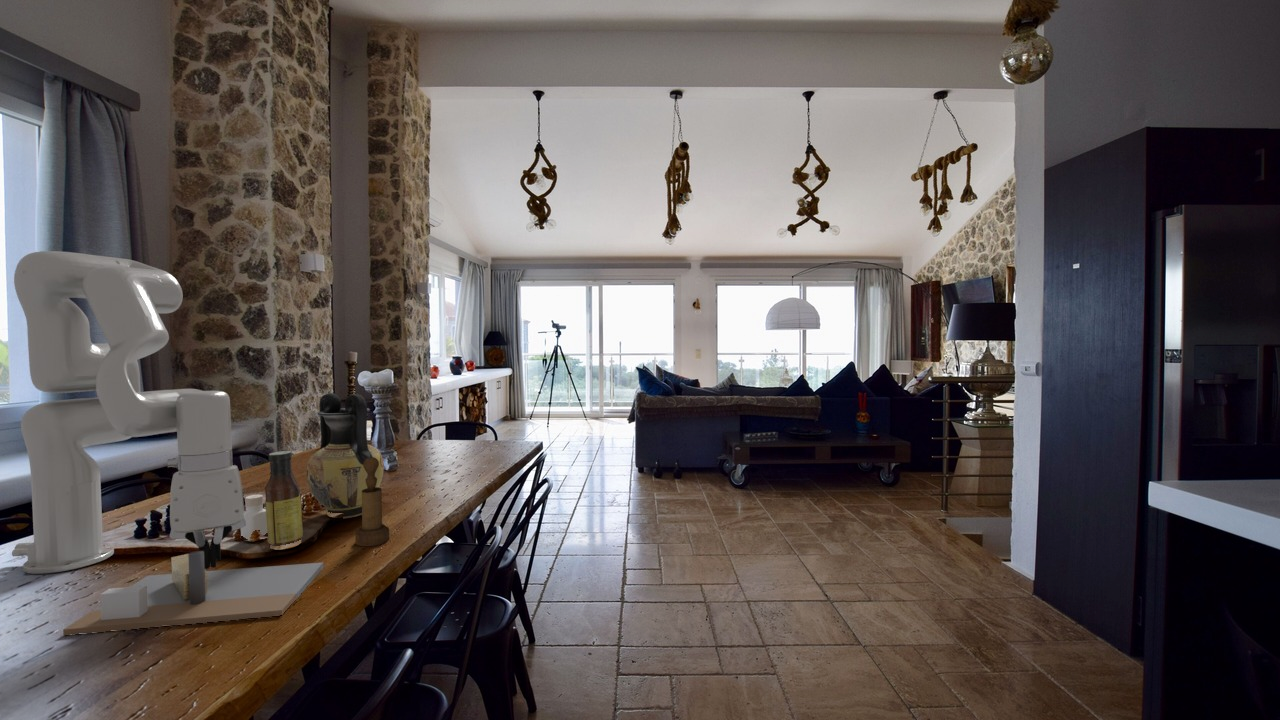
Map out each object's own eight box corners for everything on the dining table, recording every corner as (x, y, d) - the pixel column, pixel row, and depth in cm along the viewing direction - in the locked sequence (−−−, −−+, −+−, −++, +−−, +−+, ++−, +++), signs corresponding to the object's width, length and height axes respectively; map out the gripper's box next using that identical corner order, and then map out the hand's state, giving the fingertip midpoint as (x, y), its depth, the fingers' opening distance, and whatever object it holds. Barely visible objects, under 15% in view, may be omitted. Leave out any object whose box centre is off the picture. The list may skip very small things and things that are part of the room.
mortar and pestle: (367, 548, 119) (365, 462, 118) (349, 542, 123) (347, 458, 122) (395, 539, 125) (394, 456, 124) (377, 533, 128) (375, 453, 128)
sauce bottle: (309, 542, 123) (307, 449, 122) (289, 553, 117) (286, 455, 116) (281, 541, 124) (278, 449, 123) (259, 552, 118) (256, 455, 117)
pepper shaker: (239, 541, 123) (238, 498, 123) (257, 535, 127) (256, 493, 127) (252, 544, 122) (251, 499, 122) (270, 538, 126) (269, 494, 125)
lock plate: (63, 636, 84) (60, 575, 84) (147, 581, 104) (145, 531, 103) (282, 616, 90) (280, 559, 90) (323, 567, 109) (322, 520, 109)
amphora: (289, 520, 138) (286, 395, 136) (345, 501, 154) (342, 389, 152) (349, 527, 132) (346, 397, 131) (400, 506, 149) (398, 390, 147)
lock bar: (207, 593, 95) (206, 569, 95) (184, 599, 93) (183, 575, 93) (193, 574, 103) (192, 552, 103) (172, 580, 101) (171, 557, 100)
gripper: (147, 472, 93) (152, 583, 94) (258, 459, 102) (262, 562, 102) (153, 464, 99) (158, 569, 100) (257, 453, 108) (260, 550, 108)
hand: (210, 565), depth 101 cm, fingers closed
